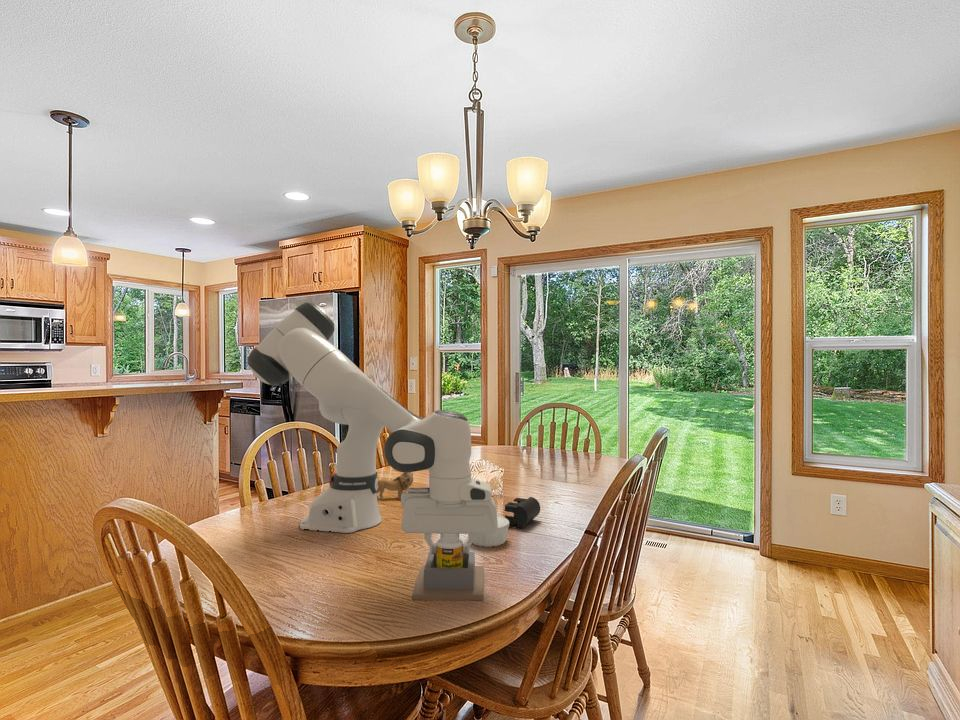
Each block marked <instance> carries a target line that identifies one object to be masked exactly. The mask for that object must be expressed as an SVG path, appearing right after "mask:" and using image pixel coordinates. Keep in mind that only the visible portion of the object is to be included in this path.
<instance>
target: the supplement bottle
mask: <svg viewBox="0 0 960 720" xmlns="http://www.w3.org/2000/svg"><path fill="white" fill-rule="evenodd" d="M439 537H440V538H439V539H438V540H437V541H436V543H437V568H463V544H464V542H463V540H462V538H460V534H440V535H439Z"/></svg>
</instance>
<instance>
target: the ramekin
mask: <svg viewBox="0 0 960 720" xmlns="http://www.w3.org/2000/svg"><path fill="white" fill-rule="evenodd" d="M497 520H498V530H497V531H496V532H495V534H475V539H474V541H473V543H472V544H473V545H475V544H476V545H475V546H477V545H479V546H478V547H482V546H484V548H491V547H492V546H495V547H498V545H499V546H501V544H502V545H503V544H505V542H506V541H507V538H508V531H509V528H510V527H509V520H508V519H506V518H505V516H504V517H503V516H500V515H497Z"/></svg>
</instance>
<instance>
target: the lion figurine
mask: <svg viewBox="0 0 960 720" xmlns="http://www.w3.org/2000/svg"><path fill="white" fill-rule="evenodd" d="M413 473H414V472H402V474H400V475H399V476H397V477H396V478H394V479H387V478H381V479H378V490H377V499H378V498H380V500H381V501H383V500H384V501H386V498H385V497H383V494H384V491H385V489H386V490H387V491H390V492H397V497H398V498H399V500H400V501H401V494H402V493H403V492H404V491H405V490H407V489H408V488H410V487H411V486H412V485H413V482H414V474H413ZM378 494H379V495H378Z"/></svg>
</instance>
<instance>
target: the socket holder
mask: <svg viewBox="0 0 960 720" xmlns="http://www.w3.org/2000/svg"><path fill="white" fill-rule="evenodd" d="M475 556H476V555H475V551H470V554H463V568H437V554H430V551H429V552H428V555H427V558H426V561H425V564H424V565H421V566H420V569H419V573H418V575H417V579H416V581H415V585H414V587H413V588H414V589H413V591H412V595H411V596H412V600H414V601H417V600H418V601H423V600H424V601H425V600H427V601H429V600H431V601H484V584H485V583H484V580H485V579H484V577H485V576H484V575H485V573H484V572H485V571H484V570H485V567H484V566H483V565H482V566H480V565H479V566H478V565H477V566H476V565H475V561H476V560H475V558H476V557H475Z"/></svg>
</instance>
